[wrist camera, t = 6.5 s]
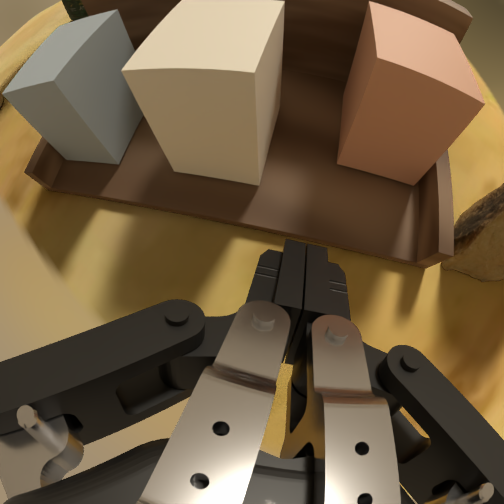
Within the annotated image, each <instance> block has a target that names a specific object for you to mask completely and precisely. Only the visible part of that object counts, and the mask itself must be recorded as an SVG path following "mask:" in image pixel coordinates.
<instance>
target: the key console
mask: <svg viewBox="0 0 504 504" xmlns="http://www.w3.org/2000/svg"><path fill="white" fill-rule="evenodd" d="M81 1H82V3H83V5H84V8H85V10H86V12H87V14H88V16H93V15H96V14H100V13H104V12H108V11H112V10H117V9H118V12H119V14H120V17H121V19H122V21H123V24H124V26H125V29H126V31H127V33H128V36H129V38H130V41H131V43H132V45H133V48H134V50H135V52H136V50H137V49H138V48H139V47H140V45H141V44H142V43H143V42H144V41H145V39H146V38H147V37H148V36H149V35H150V33H151V32H152V31H153V30H154V29H155V28H156V27H157V25H158V24H159V23H160V22H161V21H162V20H163V19H164V18H165V17H166V16H167V15H168V14H169V12H170V11H171V10H172V9H173V8H174V7H175V6H176V5H177V4H178V3H179V2H180V1H181V0H81ZM278 1H285V6H284V32H283V55H282V76H281V95H280V108H279V112H278V116H277V120H276V124H275V127H274V131H273V135H272V139H271V143H270V146H269V150H268V154H267V158H266V162H265V166H264V169H263V173H262V177H261V181H260V185H259V186H257V185H252V184H247V183H242V182H236V181H230V180H225V179H219V178H213V177H207V176H201V175H194V174H188V173H181V172H174V170H173V168H172V166H171V165H170V163H169V161H168V159H167V157H166V155H165V154H164V152H163V150H162V148H161V146H160V144H159V142H158V141H157V139H156V137H155V135H154V133H153V131H152V129H151V127H150V126H149V124H148V122H147V120H146V118H145V116H144V115H143V117H142V119H141V121H140V123H139V124H138V126H137V128H136V130H135V132H134V134H133V136H132V138H131V140H130V142H129V144H128V146H127V148H126V150H125V153H124V155H123V157H122V159H121V161H120V163H119V165H118V164H108V163H98V162H87V161H74V160H66V159H65V158H64V157H63V156H62V155H61V154H60V153H59V152H58V151H57V150H56V149H55V148H54V147H53V146H52V145H51V144H50V143H49V142H48V141H47V140H46V139H45V138H44V137H43V136H42V138H41V140H40V142H39V144H38V145H37V147H36V149H35V151H34V153H33V155H32V157H31V159H30V161H29V163H28V165H27V167H26V169H25V173H26V174H27V175H29V176H30V177H31V178H32V179H34V180H35V181H36V182H38V183H39V184H40V185H42V186H43V187H44V188H46V189H47V190H51V191H57V192H63V193H69V194H75V195H81V196H87V197H92V198H98V199H104V200H109V201H115V202H120V203H126V204H131V205H137V206H142V207H147V208H153V209H158V210H163V211H168V212H173V213H179V214H184V215H189V216H194V217H199V218H204V219H209V220H214V221H219V222H223V223H228V224H233V225H238V226H243V227H247V228H252V229H257V230H262V231H266V232H271V233H276V234H280V235H285V236H289V237H294V238H298V239H303V240H307V241H312V242H316V243H321V244H325V245H330V246H334V247H338V248H343V249H347V250H351V251H356V252H360V253H364V254H368V255H372V256H377V257H381V258H385V259H389V260H393V261H397V262H401V263H405V264H410V265H414V266H418V267H422V268H428V267H430V266H433V265H435V264H437V263H440V262H442V261H444V260H446V259H449V258H451V257H453V256H454V217H453V196H452V183H451V173H450V164H449V156H448V149H447V150H446V151H445V152H444V153H443V154H442V156H441V157H440V158H439V159H438V160H437V161H436V162H435V163H434V164H433V166H432V167H431V168H430V169H429V170H428V171H427V172H426V173H425V174H424V175H423V176H422V177H421V179H420V180H419V181H418V182H417V183H416V184H415V185H414V186H412V185H409V184H406V183H403V182H400V181H396V180H393V179H390V178H386V177H383V176H380V175H376V174H373V173H369V172H365V171H362V170H358V169H354V168H351V167H347V166H343V165H339V164H337V157H338V148H339V138H340V128H341V116H342V104H343V94H344V91H345V87H346V84H347V81H348V77H349V74H350V70H351V67H352V63H353V60H354V56H355V52H356V49H357V45H358V41H359V38H360V34H361V30H362V26H363V23H364V19H365V15H366V11H367V7H368V3H369V1H371V2H374V3H378V4H381V5H384V6H387V7H390V8H393V9H396V10H399V11H402V12H404V13H407V14H410V15H412V16H415V17H417V18H420V19H422V20H425V21H427V22H429V23H431V24H434V25H436V26H438V27H440V28H442V29H444V30H447V31H449V32H451V33H453V34H454V35H455V37H456V39H457V41H458V43H459V44H460V42H461V41H462V39H463V37H464V35H465V33H466V31H467V29H468V27H469V25H470V23H471V21H472V19H473V17H472V16H471V14H470V13H469V12H468V11H467V9H466V8H464V7H462V6H460V5H459V4H456V3H455V2H453V1H451V0H278Z"/></svg>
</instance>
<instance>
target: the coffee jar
mask: <svg viewBox="0 0 504 504" xmlns="http://www.w3.org/2000/svg"><path fill="white" fill-rule="evenodd" d="M62 2H63V4H64V7H65V9H66V11H67V13H68V15H69V17H70V19H71V20H73V21H76V20H79V19H82V18H86V17H89V16H88V14H87V12H86V10H85V8H84V5H83V3H82V1H81V0H62Z"/></svg>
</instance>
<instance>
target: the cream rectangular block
mask: <svg viewBox="0 0 504 504" xmlns="http://www.w3.org/2000/svg"><path fill="white" fill-rule="evenodd" d="M284 6H285V1H278V0H181V1H180V2H179V3H178V4H177V5H176V6H175V7H174V8H173V9H172V10H171V11H170V12H169V14H168V15H167V16H166V17H165V18H164V19H163V20H162V21H161V22H160V23H159V24H158V25H157V27H156V28H155V29H154V30H153V31H152V32H151V33H150V35H149V36H148V37H147V38H146V39H145V41H144V42H143V43H142V44H141V45H140V47H139V48H138V49H137V50H136V52H135V53H134V54H133V55H132V57H131V58H130V59H129V61H128V62H127V63H126V65H125V66H124V67H123V69H122V70H121V72H122V74H123V76H124V78H125V79H126V81H127V83H128V85H129V87H130V89H131V91H132V93H133V95H134V97H135V99H136V101H137V103H138V105H139V107H140V109H141V110H142V112H143V114H144V116H145V118H146V120H147V122H148V124H149V126H150V127H151V129H152V131H153V133H154V135H155V137H156V139H157V141H158V142H159V144H160V146H161V148H162V150H163V152H164V154H165V155H166V157H167V159H168V161H169V163H170V165H171V166H172V168H173V170H174V172H181V173H188V174H194V175H201V176H207V177H213V178H219V179H225V180H230V181H236V182H242V183H247V184H252V185H257V186H259V185H260V181H261V177H262V173H263V169H264V166H265V162H266V158H267V154H268V150H269V146H270V143H271V139H272V135H273V131H274V127H275V124H276V120H277V116H278V112H279V108H280V95H281V76H282V55H283V32H284Z"/></svg>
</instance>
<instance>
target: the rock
mask: <svg viewBox="0 0 504 504" xmlns="http://www.w3.org/2000/svg"><path fill="white" fill-rule="evenodd" d="M441 264H442V267H443V268H444V269H445V270H451V269H454V270H457V271H460V272H462V273H465V274H469V275H470V276H471V277H473V278H476V279H480V280H481V281H482V282H484V281H500V280H501V279H504V183H503V184H502V185H501V186H500V187H499V188H497V189H495V190H493V191H492V192H490V193H489V194H488V195H486V196H485V197H483V198H482V199H480V200H479V201H477V202H476V203H474V204H473V205H472V206H471V207H470V208H469V209H467V210H466V211H465V212H463V213H462V214H461V215H460V217H459V219H458V220H457V222H456V224H455V226H454V256H453V257H451V258H449V259H446V260H444V261H442V263H441Z"/></svg>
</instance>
